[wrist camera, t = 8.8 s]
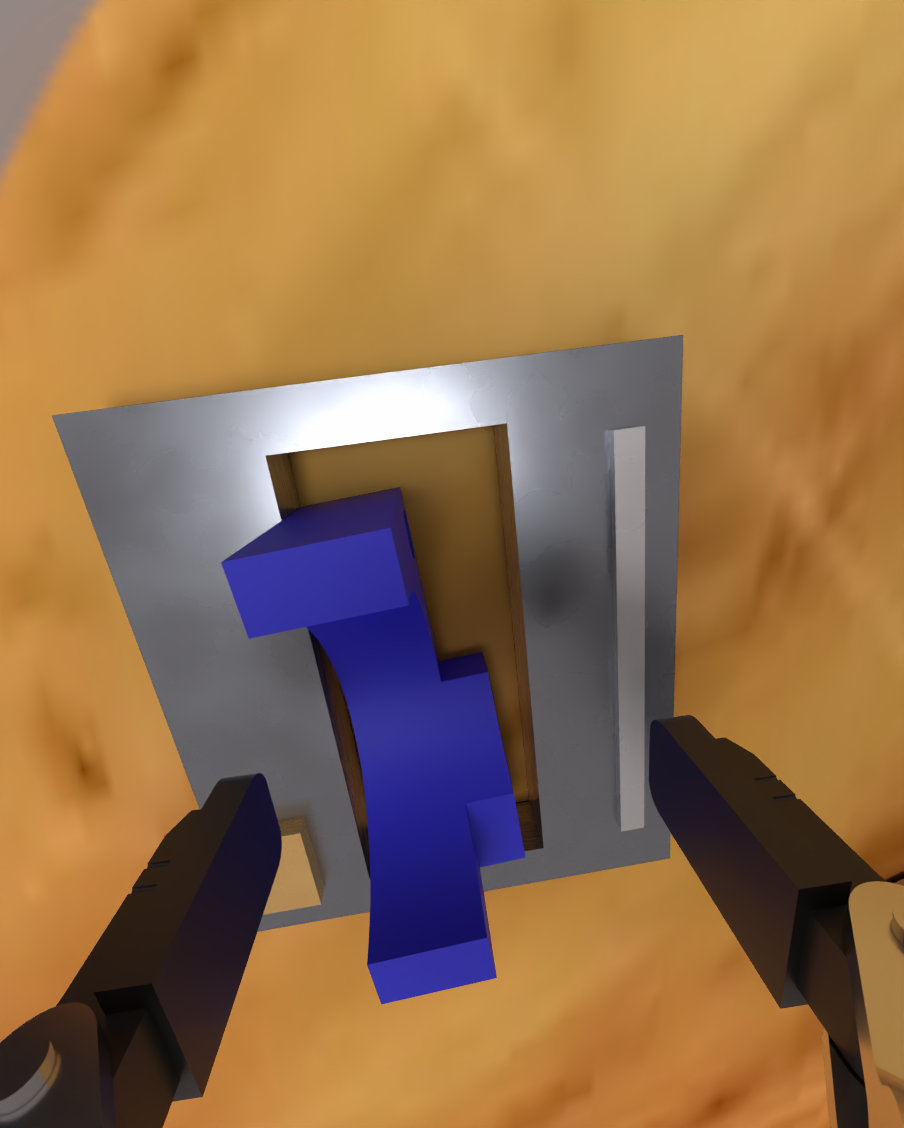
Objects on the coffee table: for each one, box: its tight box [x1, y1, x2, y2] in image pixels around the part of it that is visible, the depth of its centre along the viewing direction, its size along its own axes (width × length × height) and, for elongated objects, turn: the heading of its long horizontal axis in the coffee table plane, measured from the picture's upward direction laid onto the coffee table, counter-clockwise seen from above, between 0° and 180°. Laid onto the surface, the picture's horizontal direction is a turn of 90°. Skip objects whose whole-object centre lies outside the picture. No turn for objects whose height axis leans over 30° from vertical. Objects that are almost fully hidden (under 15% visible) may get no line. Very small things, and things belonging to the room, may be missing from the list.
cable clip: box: [221, 487, 525, 1004], centre depth 12 cm, size 12×4×6 cm, turn 11°
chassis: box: [52, 335, 683, 932], centre depth 14 cm, size 15×17×3 cm
